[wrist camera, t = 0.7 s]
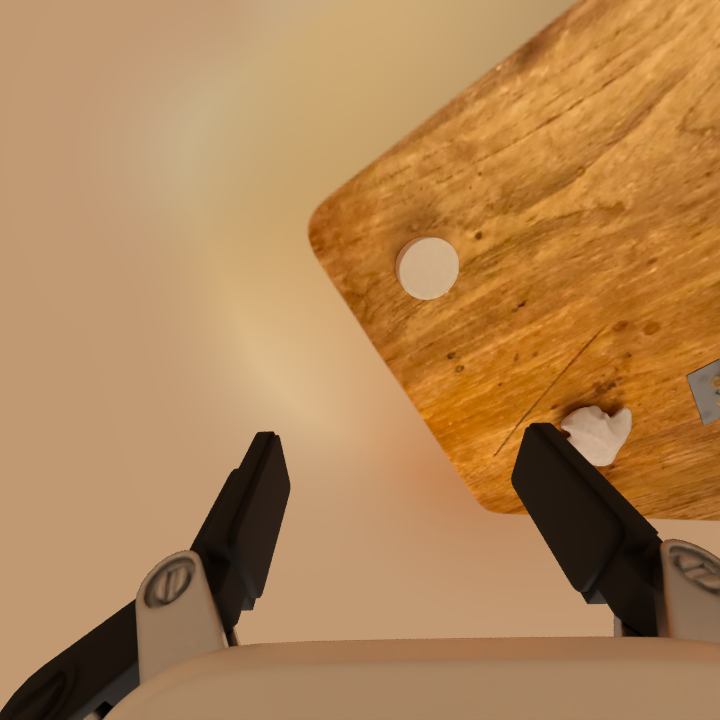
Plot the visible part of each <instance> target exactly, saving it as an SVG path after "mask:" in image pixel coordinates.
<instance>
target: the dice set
mask: <svg viewBox="0 0 720 720" xmlns="http://www.w3.org/2000/svg"><path fill="white" fill-rule="evenodd" d="M710 386H711V387H713V388H715V389H718V390H720V376H715V377H714V379H713V380H712V381H711V383H710ZM717 404H718V405H719V406H720V400H719V401H718V402H717Z"/></svg>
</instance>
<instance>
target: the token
mask: <svg viewBox="0 0 720 720" xmlns="http://www.w3.org/2000/svg"><path fill="white" fill-rule="evenodd" d="M395 268H396V276H397V278H398V281H399V282H400V284H401V285H402V287H403V288H404V289H405V291H406V292H407V293H408V294H410V295H411V296H413V297H415V298H417V299H421V300H430V299H434V298H437V297H439V296H441V295H443V294H444V293H446V292H447V291H448V290H449V289H450V288H451V287H452V285H453V284H454V282H455V280H456V278H457V275H458V272H459V258H458V255H457V252H456V250H455V249H454V247H453V246H452V245H451V244H450V243H449V242H447V241H445V240H444V239H441V238H437V237H426V236H425V237H418V238H415V239H413V240H411V241H410V242H408V243H407V244H406V245H405V246H404V247H403V248H402V250H401V251H400V253H399V255H398V257H397V260H396V266H395Z"/></svg>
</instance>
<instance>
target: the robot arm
mask: <svg viewBox="0 0 720 720" xmlns="http://www.w3.org/2000/svg"><path fill="white" fill-rule="evenodd" d="M511 481H512V485H513V487H514V489H515V491H516V492H517V494H518V496H519V497H520V499H521V501H522V502H523V504H524V506H525V507H526V509H527V511H528V513H529V514H530V516H531V518H532V519H533V521H534V523H535V524H536V526H537V528H538V529H539V531H540V533H541V534H542V536H543V537H544V540H545V541H546V543H547V544H548V546H549V548H550V549H551V551H552V553H553V555H554V556H555V558H556V560H557V561H558V563H559V565H560V566H561V568H562V570H563V571H564V573H565V575H566V577H567V578H568V580H569V581H570V583H571V585H572V586H573V588H574V589H575V590H577V591H578V592H580V593H581V594H582V596H583V598H584V599H585V601H586V602H587V604H606V603H607V604H608V605H609V607H610V608H611V610H612V612H613V613H614V637H526V638H525V637H522V638H521V637H520V638H519V637H518V638H457V639H456V638H451V639H396V640H352V641H351V640H349V641H310V642H309V641H308V642H287V643H264V644H251V645H243V646H241V645H240V642H239V639H238V635H237V632H236V629H235V625H236V624H237V623H238V620H239V617H240V614H241V611H242V610H253V607H254V604H255V600H256V598H260V597H261V595H262V593H263V590H264V586H265V583H266V579H267V575H268V572H269V568H270V564H271V561H272V556H273V553H274V549H275V545H276V542H277V538H278V534H279V531H280V527H281V523H282V520H283V516H284V512H285V508H286V505H287V501H288V497H289V493H290V480H289V476H288V472H287V468H286V463H285V459H284V455H283V450H282V446H281V441H280V437H279V435H275V433H274V432H258V433H257V434H256V435H255V437H254V439H253V441H252V443H251V445H250V447H249V449H248V451H247V453H246V455H245V457H244V459H243V461H242V463H241V465H240V467H239V469H234V470H233V471H232V472H231V473H230V475H229V477H228V478H227V480H226V482H225V484H224V486H223V488H222V490H221V492H220V493H219V496H218V497H217V499H216V501H215V503H214V505H213V507H212V508H211V510H210V513H209V514H208V516H207V518H206V520H205V522H204V523H203V525H202V527H201V529H200V531H199V533H198V535H197V537H196V538H195V540H194V542H193V544H192V546H191V548H190V550H189V551H188V550H184V551H180V552H176V553H174V554H172V555H170V556H168V557H166V558H165V559H164V560H162V561H161V562H159V563H158V564H157V565H156V566H155V567H154V568H153V569H152V570H151V571H150V572H149V573H148V574H147V576H146V578H145V579H144V580H143V582H142V583H141V585H140V588H139V590H138V593H137V596H136V599H135V600H133V601H132V602H130V603H129V604H128V605H126V606H125V607H124V608H122V609H121V610H119V611H118V612H117V613H115V614H114V615H113V616H111V617H110V618H108V619H107V620H106V621H104V622H103V623H102V624H100V625H99V626H98V627H96V628H95V629H93V630H92V631H91V632H89V633H88V634H87V635H85V636H84V637H82V638H81V639H80V640H78V641H77V642H75V643H74V644H73V645H71V646H70V647H69V648H67V649H66V650H65V651H63V652H62V653H60V654H59V655H58V656H56V657H55V658H54V659H52V660H51V661H49V662H48V663H47V664H45V665H44V666H43V667H41V668H40V669H39V670H38V671H37V672H35V673H34V674H33V675H32V676H31V677H29V678H28V679H27V681H26V682H25V683H24V684H23V685H22V686H21V687H20V688H19V689H18V690H17V691H16V692H15V693H14V694H13V696H12V697H11V698H10V700H9V701H8V702H7V704H6V705H5V706H4V708H3V709H2V710H1V712H0V720H720V559H719V558H718V557H716V556H715V555H713V554H712V553H710V552H709V551H707V550H705V549H703V548H701V547H699V546H697V545H695V544H692V543H689V542H686V541H683V540H677V539H669V540H665V541H664V542H663V541H662V540H661V539H660V538H659V537H658V536H657V534H658V531H656V529H655V528H653V527H652V526H651V524H650V523H649V522H648V521H647V520H646V519H645V518H644V517H643V516H642V515H641V514H640V513H639V512H638V511H637V510H636V509H635V508H634V507H633V506H632V505H631V504H630V503H629V502H628V501H627V500H626V499H625V498H624V497H623V496H622V495H621V494H620V493H619V492H618V491H617V490H616V489H615V488H614V487H613V486H612V485H611V484H610V483H609V482H608V481H607V480H606V479H605V478H604V477H603V475H602V474H601V473H600V472H599V471H598V470H597V469H596V468H595V467H594V466H593V465H592V464H591V463H590V462H589V461H588V460H587V459H586V458H585V457H584V456H583V455H582V454H581V453H580V452H579V451H578V450H577V449H576V448H575V447H574V446H573V445H572V444H571V443H570V442H569V441H568V440H567V439H566V438H565V437H564V436H563V435H562V434H561V433H560V432H559V431H558V430H557V429H556V428H555V427H554V426H553V425H552V424H551V423H532V424H530V426H529V427H527V428H526V429H525V432H524V436H523V439H522V442H521V446H520V449H519V453H518V456H517V459H516V463H515V466H514V470H513V473H512V477H511Z"/></svg>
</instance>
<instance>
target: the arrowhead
mask: <svg viewBox="0 0 720 720" xmlns="http://www.w3.org/2000/svg"><path fill="white" fill-rule="evenodd" d="M631 417H632V414H631V411H630V410H629V409H627V408H625V407H623V408H621V409H619V410H618V411H617V412H616V413H615V414H614V415H612V416H610V417H609V416H608V414H607V413H604V412H602V411H601V410H600V408H599V407H598V406H590V407H584V408H580V409H577V410H575V411H573V412H572V413H570V414H569V415H568V416H567V417H566V418H564V419H563V420H562V421H561V424H560V427H561V428H562V429H564V430H566V431H568V432H569V433H570V434H571V435H570V436H569V437H568V438H567V440H568V441H569V442H570V443H571V444H572V445H573V446H574V447H575V448H576V449H577V450H578V451H579V452H580V453H581V454H582V455H583V456H584V457H585V458H586V459H587V460H588V461H589V462H590V463H591V464H593V465H597V466H606V465H608V464H610V463H612V462H613V460H614V459H615V456H616V454H617V452H618V451H619V449H620V447H621V446H622V445H623V444H624V443H625V441H626V439H627V436H628V434H629V433H630V431H631Z"/></svg>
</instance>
